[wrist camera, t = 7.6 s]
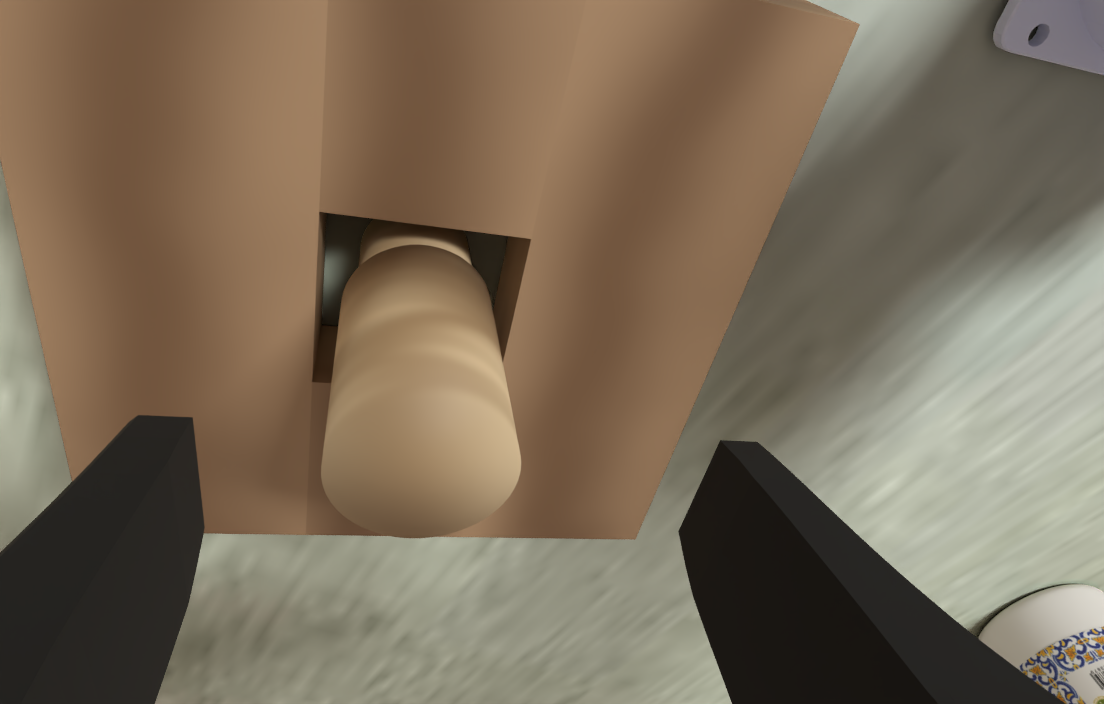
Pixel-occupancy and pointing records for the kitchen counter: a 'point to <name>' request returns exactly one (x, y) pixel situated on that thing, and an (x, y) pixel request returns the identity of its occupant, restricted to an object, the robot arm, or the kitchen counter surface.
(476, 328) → the peg
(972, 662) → the robot arm
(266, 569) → the kitchen counter surface
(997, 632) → the bath foam
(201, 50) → the board
